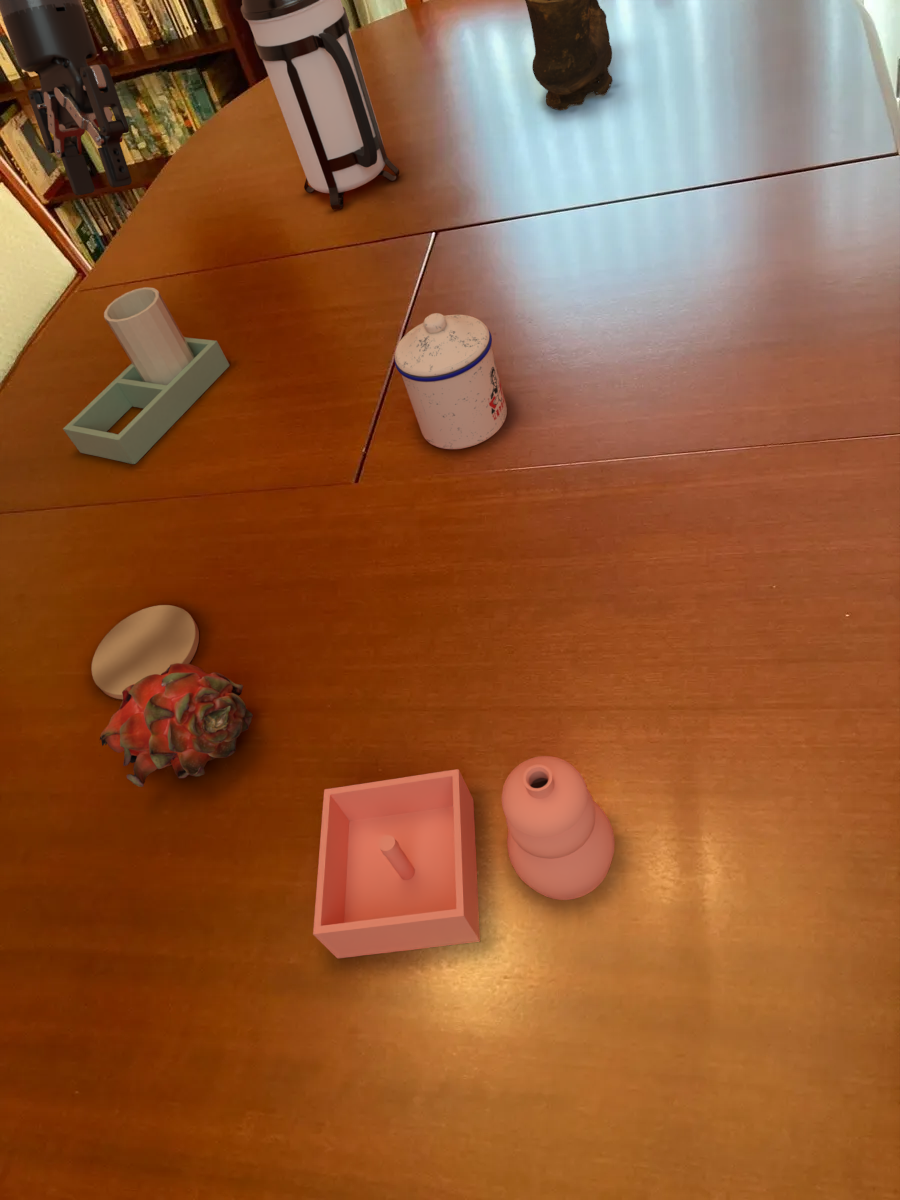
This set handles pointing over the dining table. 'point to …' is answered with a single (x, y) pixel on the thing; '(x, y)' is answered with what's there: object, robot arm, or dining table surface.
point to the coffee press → (320, 92)
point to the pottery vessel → (570, 49)
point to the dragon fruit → (177, 721)
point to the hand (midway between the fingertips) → (103, 190)
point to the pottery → (447, 854)
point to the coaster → (144, 647)
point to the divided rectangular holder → (144, 406)
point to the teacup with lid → (452, 380)
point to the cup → (149, 335)
